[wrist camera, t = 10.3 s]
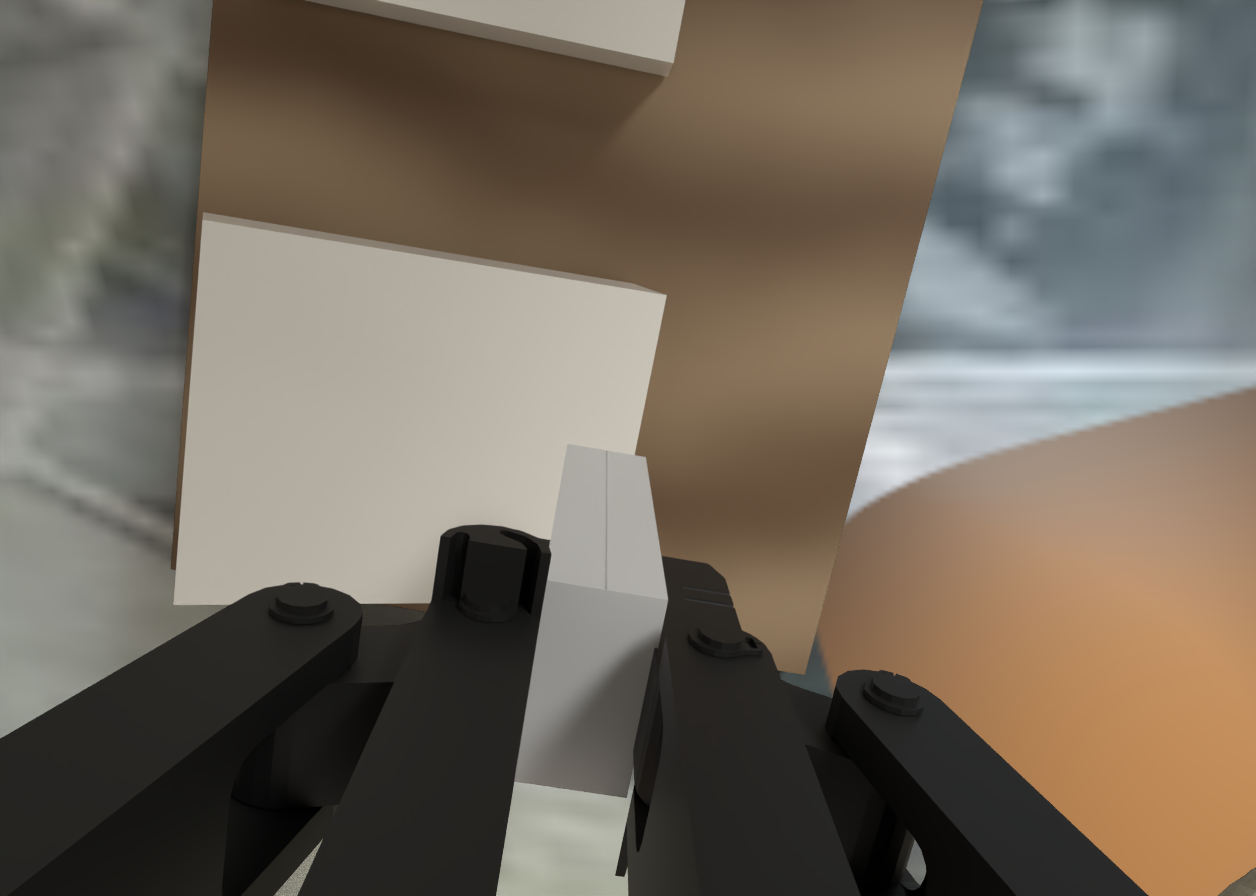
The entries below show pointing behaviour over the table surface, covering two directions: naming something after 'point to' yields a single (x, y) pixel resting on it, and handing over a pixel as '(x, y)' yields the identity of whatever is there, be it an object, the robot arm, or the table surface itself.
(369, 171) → the board
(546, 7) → the tile
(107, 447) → the table surface
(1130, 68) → the table surface
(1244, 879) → the bowl
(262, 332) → the tile
